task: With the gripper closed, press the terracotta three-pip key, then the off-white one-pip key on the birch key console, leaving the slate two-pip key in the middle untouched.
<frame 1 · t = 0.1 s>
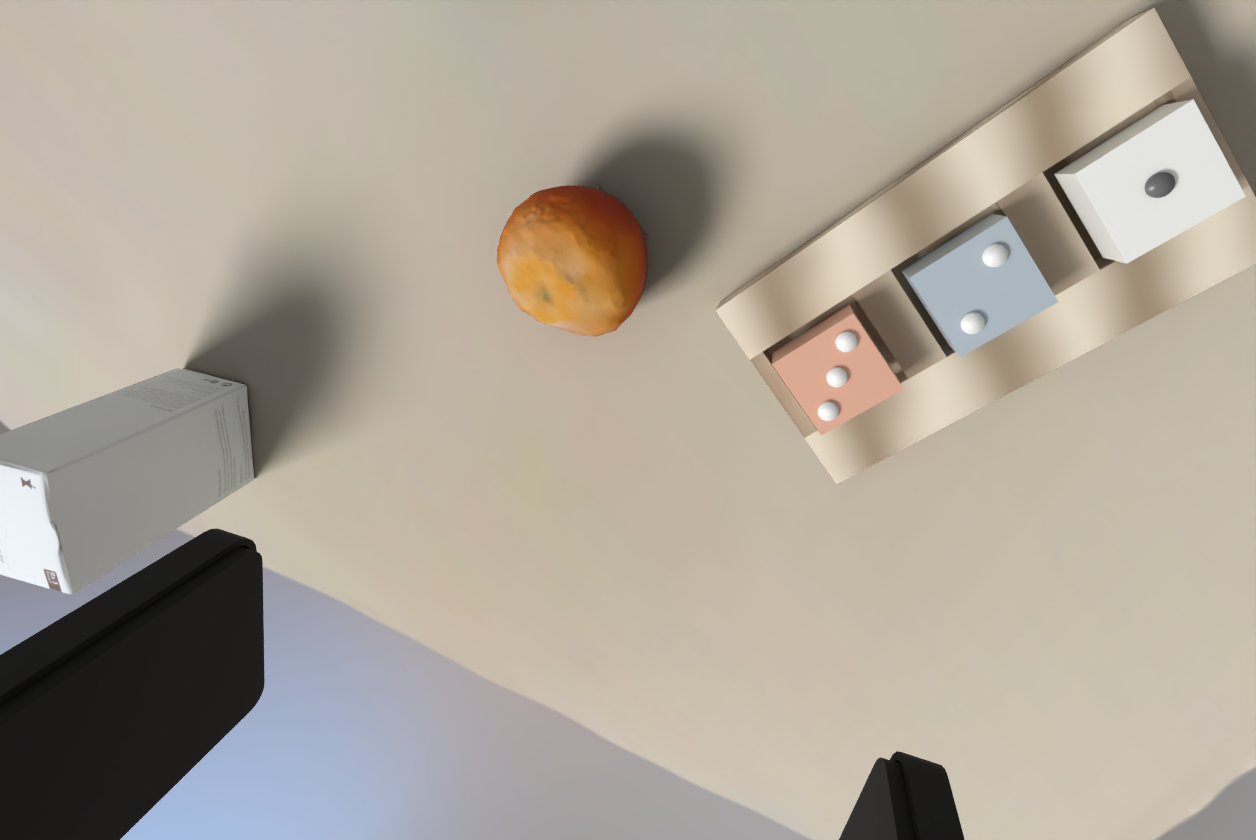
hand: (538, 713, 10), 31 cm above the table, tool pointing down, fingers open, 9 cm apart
key 3: (835, 370, 34), point 3 cm above the table, slide at 0.0 cm
key 2: (976, 286, 31), point 3 cm above the table, slide at 0.0 cm
console: (959, 275, 35), on the table
skincare box: (223, 426, 50), on the table
fruit: (593, 254, 39), on the table
key 1: (1145, 184, 29), point 4 cm above the table, slide at 0.0 cm
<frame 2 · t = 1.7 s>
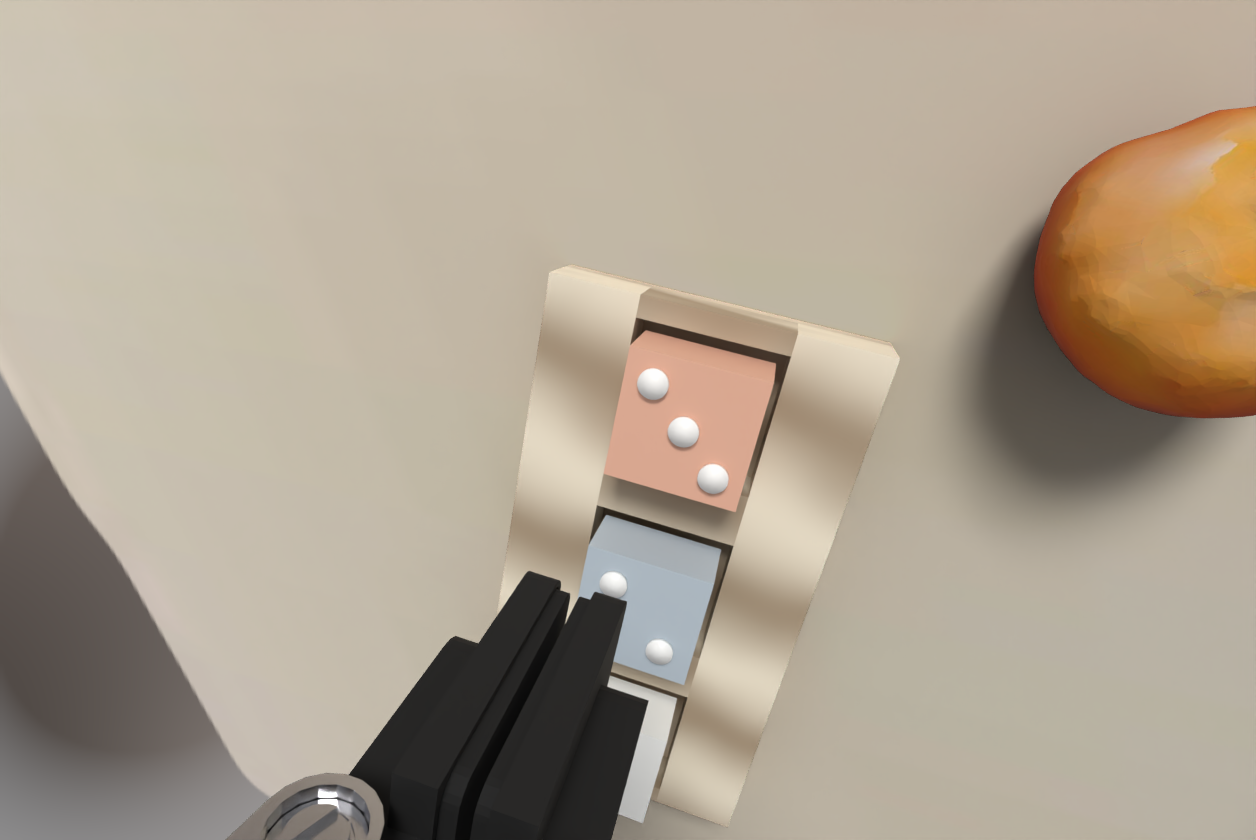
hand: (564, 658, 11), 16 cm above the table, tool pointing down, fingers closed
key 3: (689, 419, 22), point 3 cm above the table, slide at 0.0 cm
key 2: (643, 599, 25), point 4 cm above the table, slide at 0.0 cm
console: (660, 552, 28), on the table
fruit: (1144, 256, 21), on the table
key 1: (607, 743, 28), point 4 cm above the table, slide at 0.0 cm
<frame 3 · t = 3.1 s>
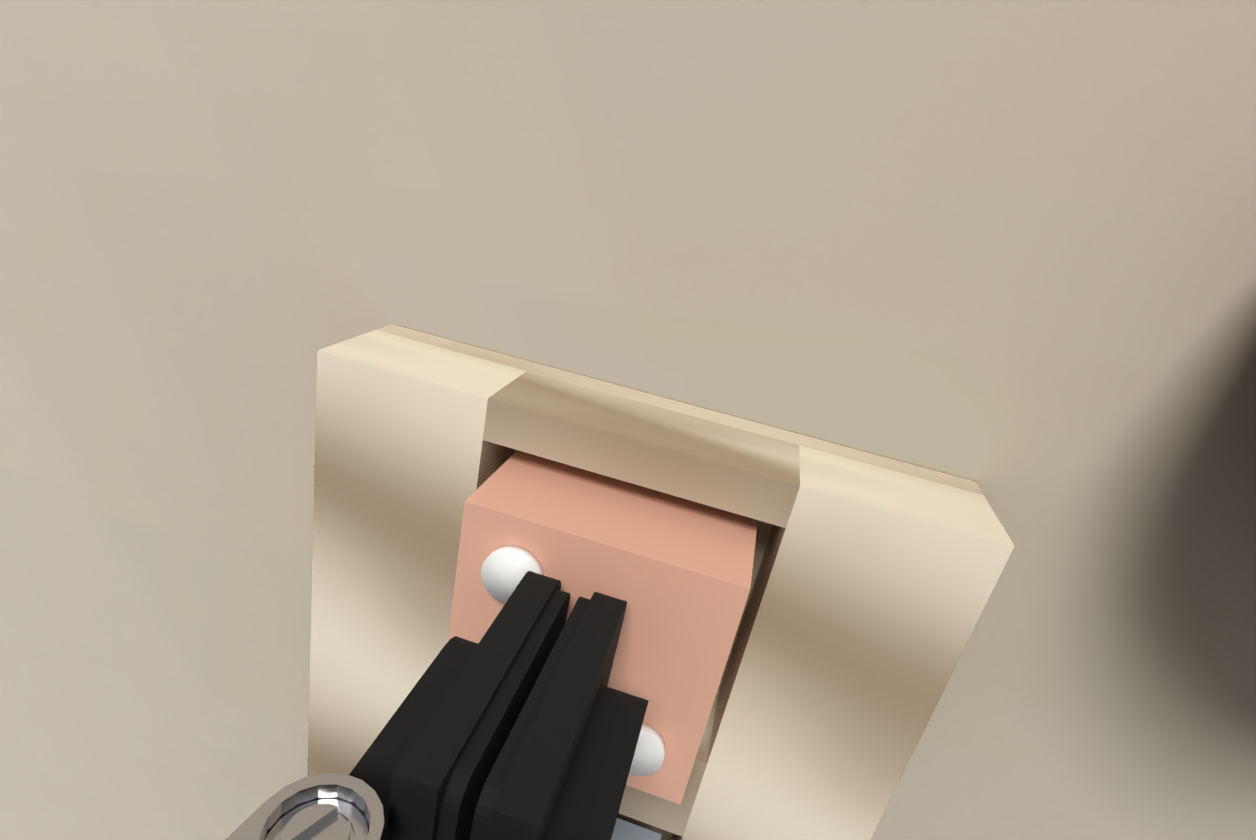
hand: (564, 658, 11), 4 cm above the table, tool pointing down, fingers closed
key 3: (595, 620, 12), point 3 cm above the table, slide at 0.8 cm, touching gripper
console: (573, 787, 17), on the table
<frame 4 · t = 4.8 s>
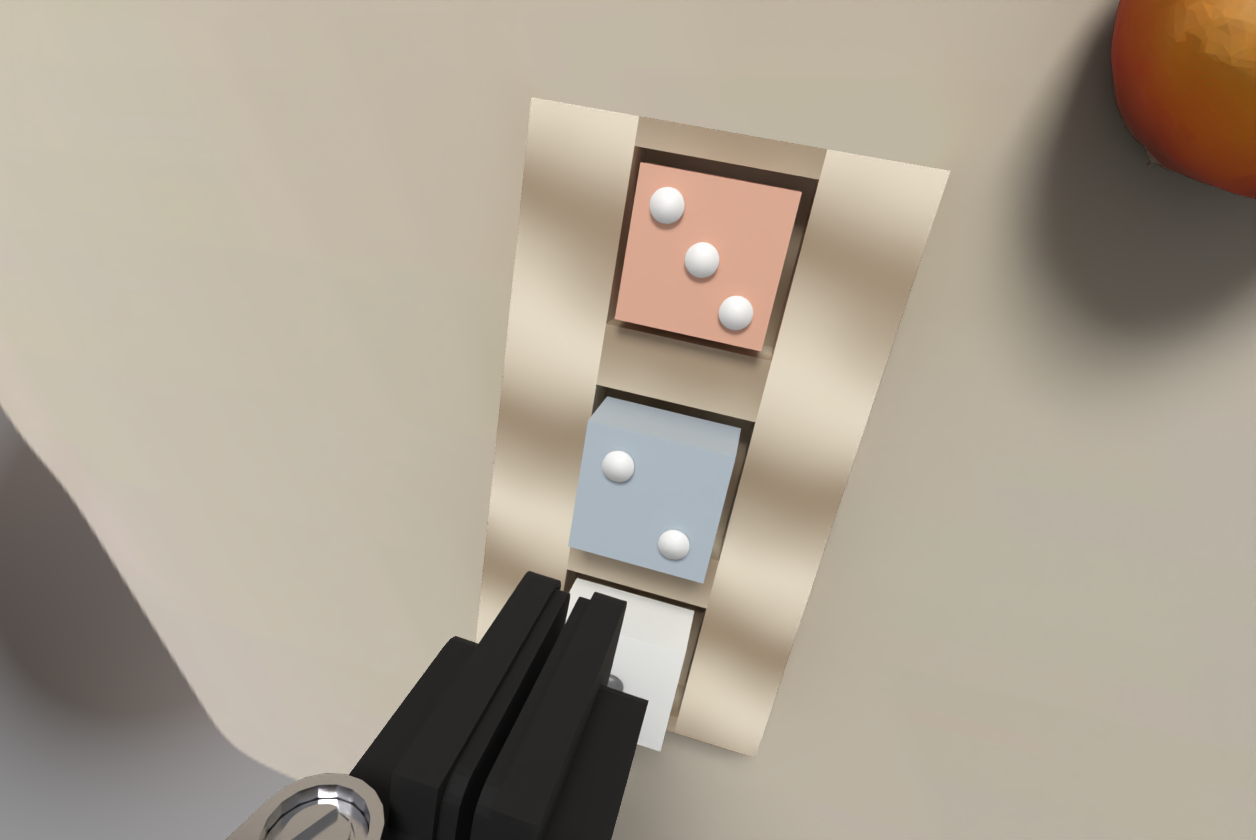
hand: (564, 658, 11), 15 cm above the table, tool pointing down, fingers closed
key 3: (706, 255, 20), point 2 cm above the table, slide at 1.5 cm
key 2: (653, 488, 22), point 4 cm above the table, slide at 0.0 cm
console: (670, 448, 25), on the table
fruit: (1237, 38, 18), on the table
key 1: (617, 664, 25), point 4 cm above the table, slide at 0.0 cm
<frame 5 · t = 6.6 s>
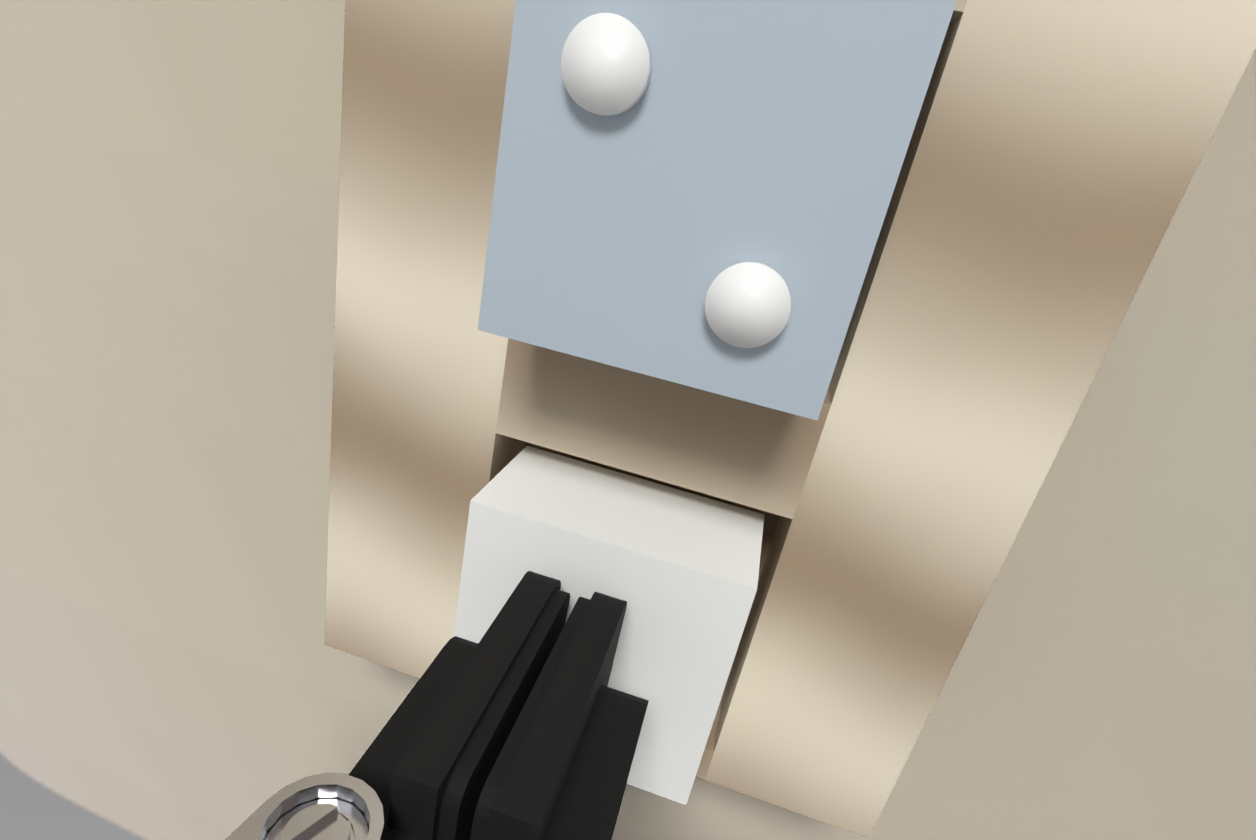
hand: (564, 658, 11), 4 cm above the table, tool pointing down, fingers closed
key 2: (694, 188, 9), point 4 cm above the table, slide at 0.0 cm
console: (721, 187, 12), on the table
key 1: (601, 620, 12), point 3 cm above the table, slide at 0.5 cm, touching gripper
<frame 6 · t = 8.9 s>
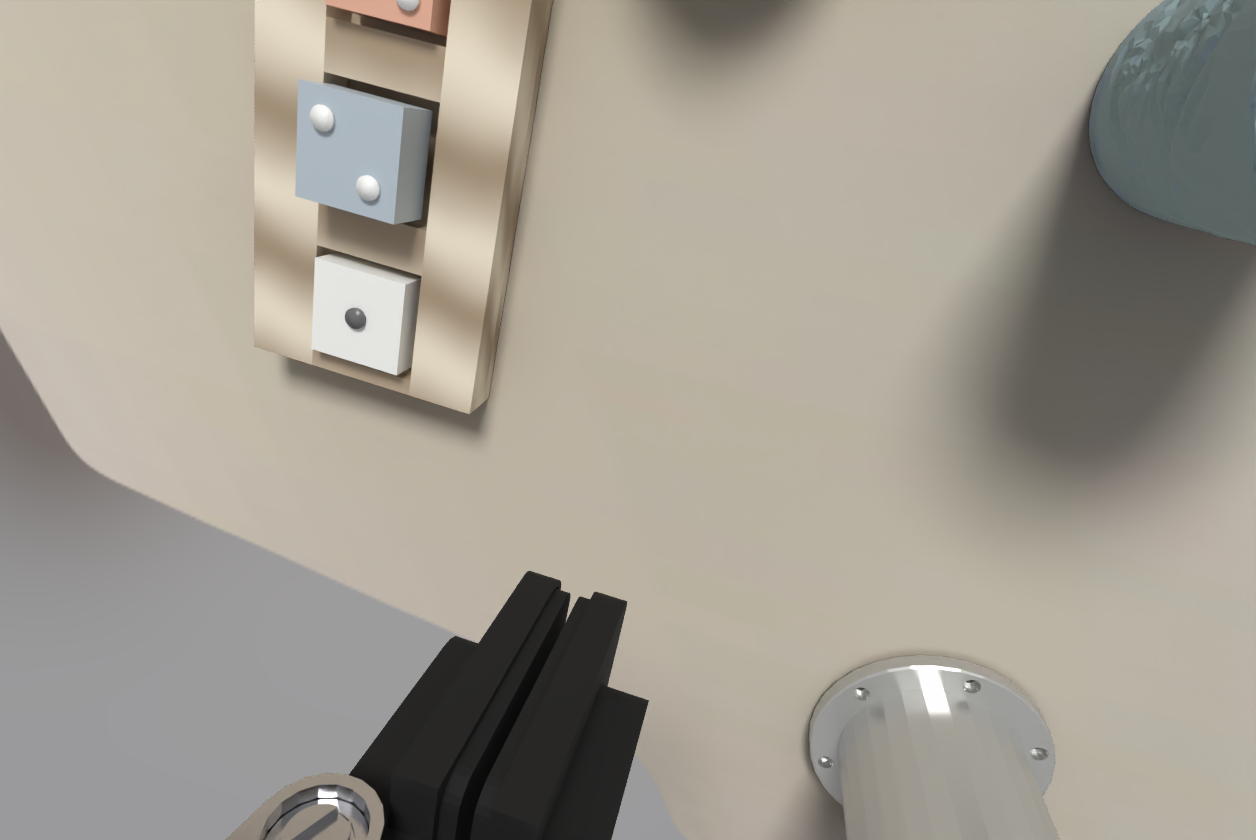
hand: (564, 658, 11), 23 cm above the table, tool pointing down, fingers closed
key 2: (362, 153, 28), point 4 cm above the table, slide at 0.0 cm
console: (404, 153, 31), on the table
key 1: (369, 312, 33), point 2 cm above the table, slide at 1.5 cm
grey-blue cup: (1206, 101, 25), on the table
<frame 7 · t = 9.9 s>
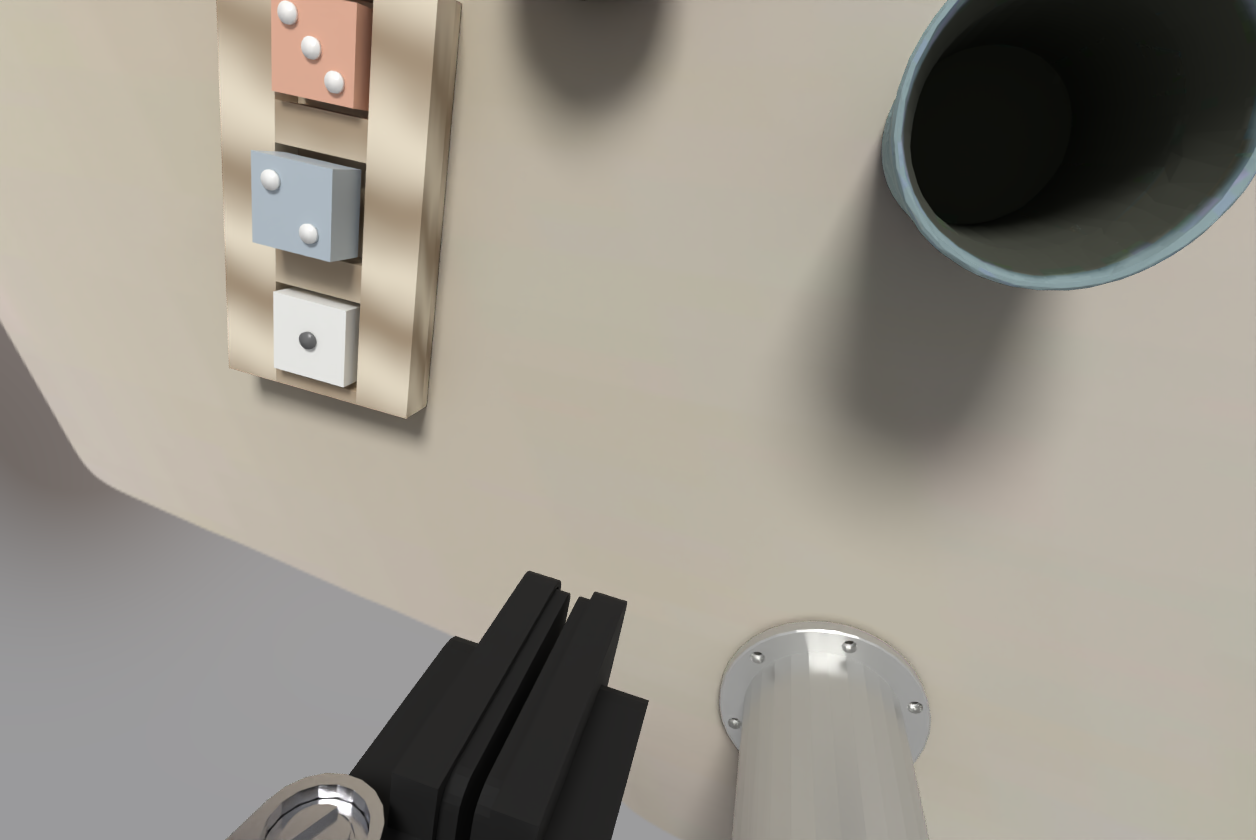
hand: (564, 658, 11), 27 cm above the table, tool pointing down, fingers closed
key 3: (327, 52, 33), point 2 cm above the table, slide at 1.5 cm
key 2: (305, 206, 35), point 4 cm above the table, slide at 0.0 cm
console: (346, 203, 38), on the table
key 1: (321, 336, 39), point 2 cm above the table, slide at 1.5 cm
grey-blue cup: (973, 139, 30), on the table
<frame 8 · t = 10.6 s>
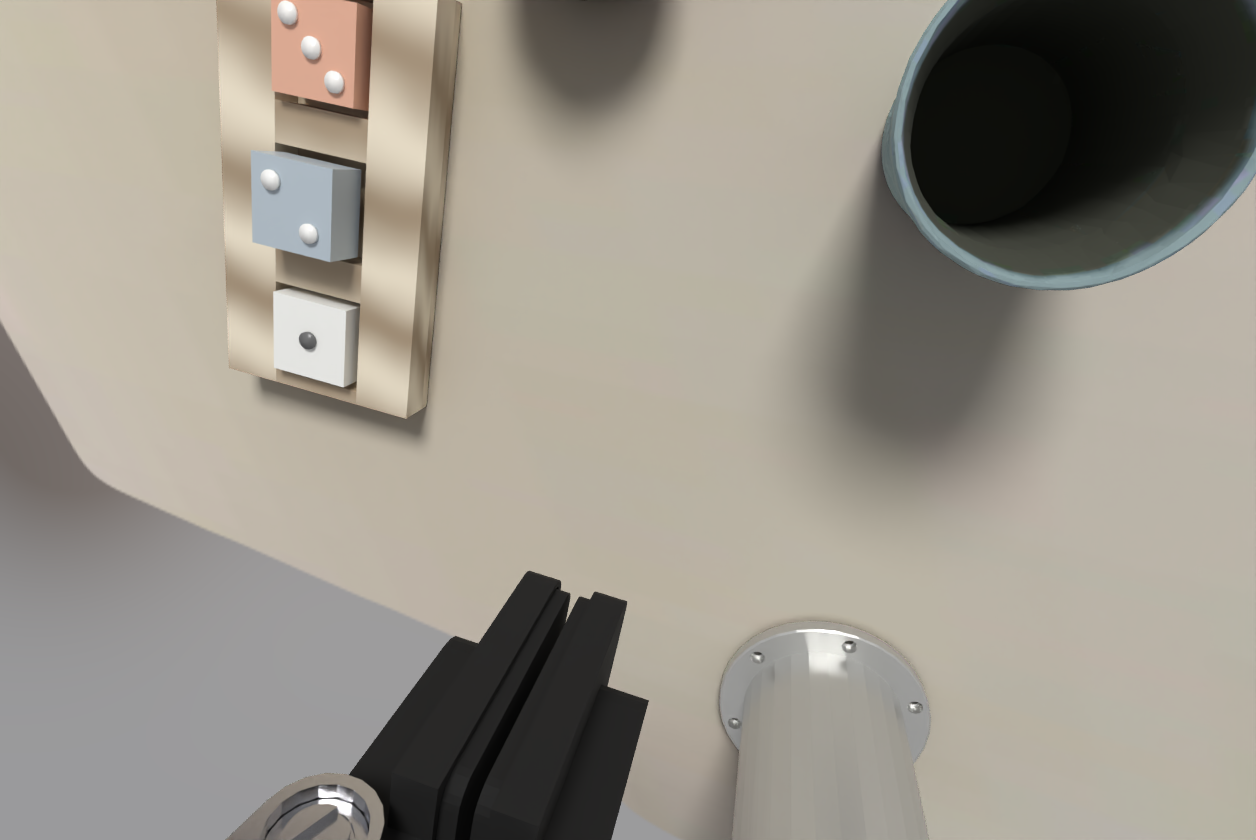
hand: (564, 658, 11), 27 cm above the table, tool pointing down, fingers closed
key 3: (327, 52, 33), point 2 cm above the table, slide at 1.5 cm
key 2: (305, 206, 35), point 4 cm above the table, slide at 0.0 cm
console: (346, 203, 38), on the table
key 1: (321, 336, 39), point 2 cm above the table, slide at 1.5 cm
grey-blue cup: (973, 139, 30), on the table
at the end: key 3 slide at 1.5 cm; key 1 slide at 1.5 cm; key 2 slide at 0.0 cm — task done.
